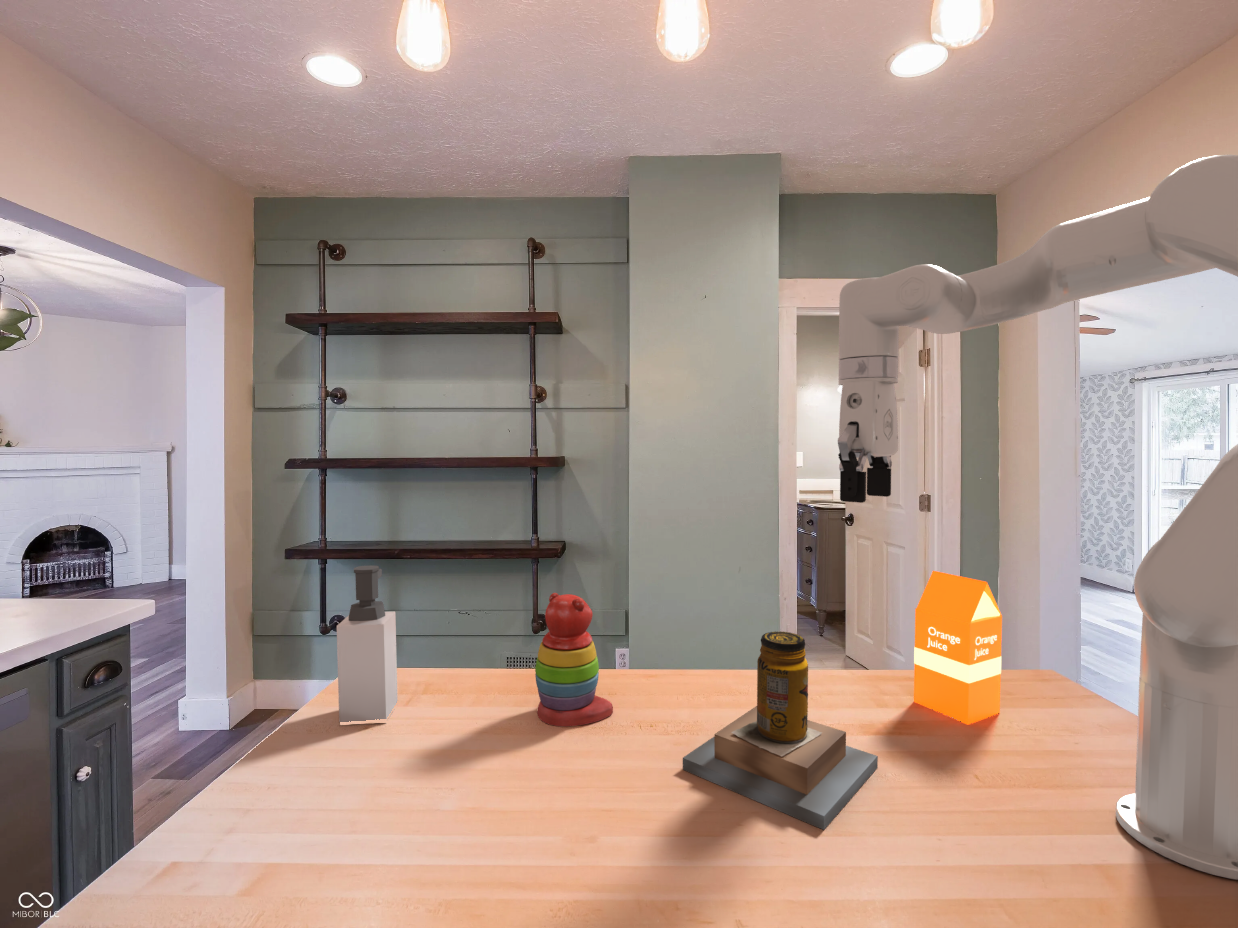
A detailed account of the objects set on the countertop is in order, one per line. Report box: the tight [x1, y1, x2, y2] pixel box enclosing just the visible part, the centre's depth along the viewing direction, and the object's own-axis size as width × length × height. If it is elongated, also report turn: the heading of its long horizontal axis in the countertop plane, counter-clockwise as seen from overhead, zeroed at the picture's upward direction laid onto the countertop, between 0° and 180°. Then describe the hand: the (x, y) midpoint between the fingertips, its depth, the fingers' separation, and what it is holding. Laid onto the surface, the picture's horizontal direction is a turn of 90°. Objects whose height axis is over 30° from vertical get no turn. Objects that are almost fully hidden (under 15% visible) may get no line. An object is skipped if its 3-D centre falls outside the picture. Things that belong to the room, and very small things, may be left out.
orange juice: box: [913, 570, 1003, 726], centre depth 93 cm, size 8×9×20 cm
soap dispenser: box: [336, 565, 399, 723], centre depth 93 cm, size 6×9×22 cm
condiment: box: [731, 630, 822, 757], centre depth 76 cm, size 7×8×12 cm
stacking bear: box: [534, 592, 614, 728], centre depth 92 cm, size 11×10×18 cm
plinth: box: [682, 705, 879, 831], centre depth 77 cm, size 18×16×4 cm
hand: (866, 498), depth 85 cm, fingers open, 9 cm apart
